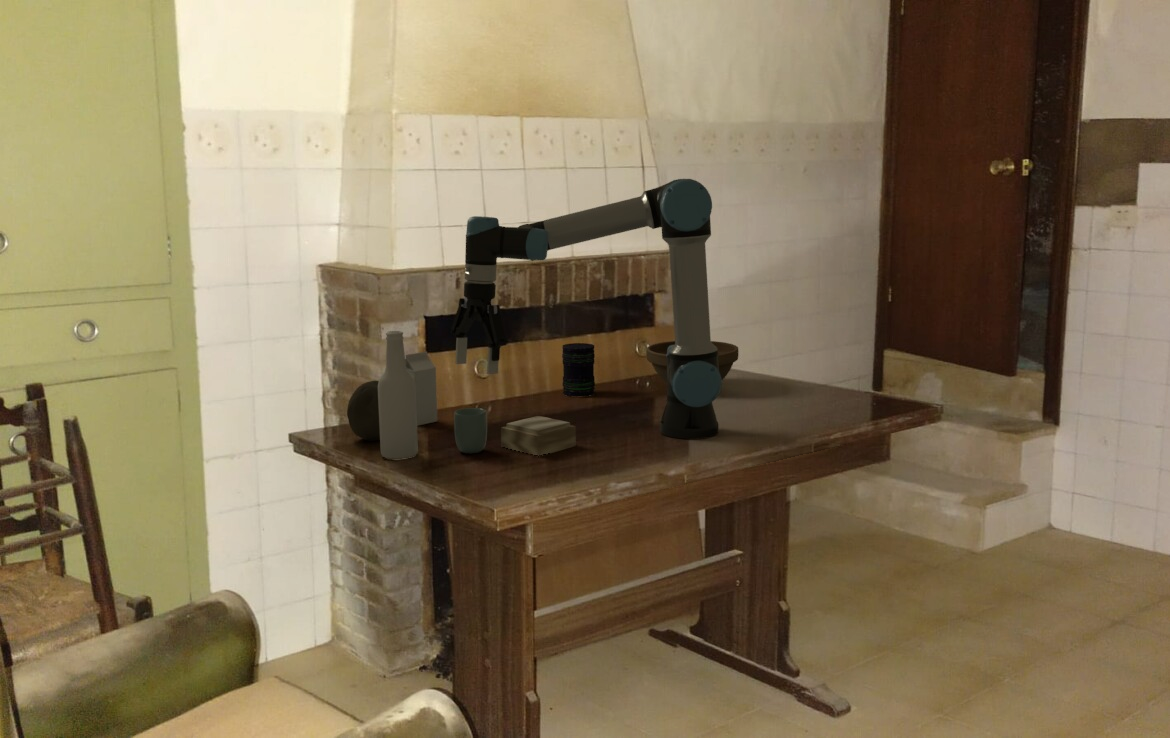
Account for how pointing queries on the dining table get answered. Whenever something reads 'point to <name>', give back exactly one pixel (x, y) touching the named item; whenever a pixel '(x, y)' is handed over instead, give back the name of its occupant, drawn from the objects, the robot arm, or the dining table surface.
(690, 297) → the robot arm
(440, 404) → the dining table surface
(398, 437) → the alcohol
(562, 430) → the pedestal
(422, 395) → the milk carton
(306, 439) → the dining table surface
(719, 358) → the flower pot
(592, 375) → the storage jar
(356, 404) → the black ball
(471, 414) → the cup
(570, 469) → the dining table surface
